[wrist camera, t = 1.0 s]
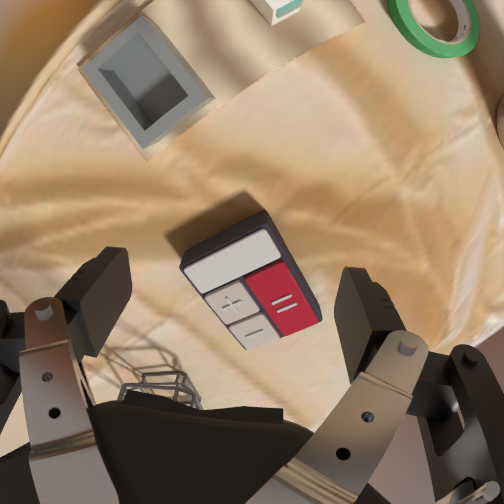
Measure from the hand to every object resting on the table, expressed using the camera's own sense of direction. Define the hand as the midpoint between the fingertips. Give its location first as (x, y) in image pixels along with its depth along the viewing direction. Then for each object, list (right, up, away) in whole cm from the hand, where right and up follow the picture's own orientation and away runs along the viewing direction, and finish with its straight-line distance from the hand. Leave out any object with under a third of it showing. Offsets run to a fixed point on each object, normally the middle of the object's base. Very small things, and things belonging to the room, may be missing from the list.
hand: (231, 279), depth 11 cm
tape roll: (+21, +27, +12) cm, 36 cm away
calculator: (+1, -2, +28) cm, 28 cm away
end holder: (-9, +18, +16) cm, 25 cm away
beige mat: (-3, +23, +14) cm, 27 cm away
